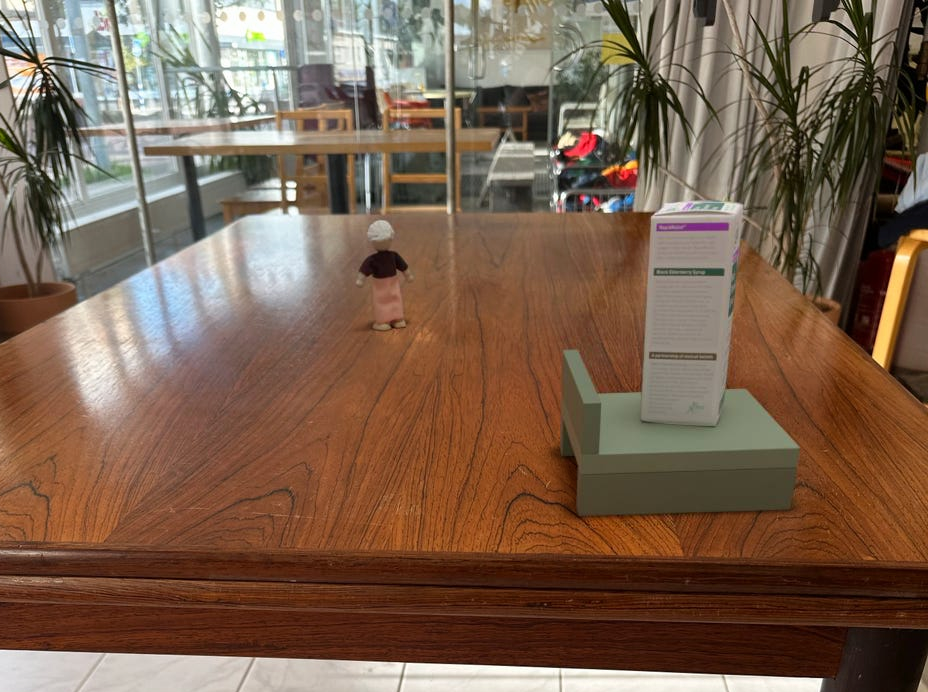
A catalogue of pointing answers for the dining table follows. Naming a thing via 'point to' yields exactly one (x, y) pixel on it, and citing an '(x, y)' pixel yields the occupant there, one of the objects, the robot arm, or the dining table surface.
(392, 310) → the grandmother figurine
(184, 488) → the dining table surface
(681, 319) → the syrup box
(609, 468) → the toy bed
